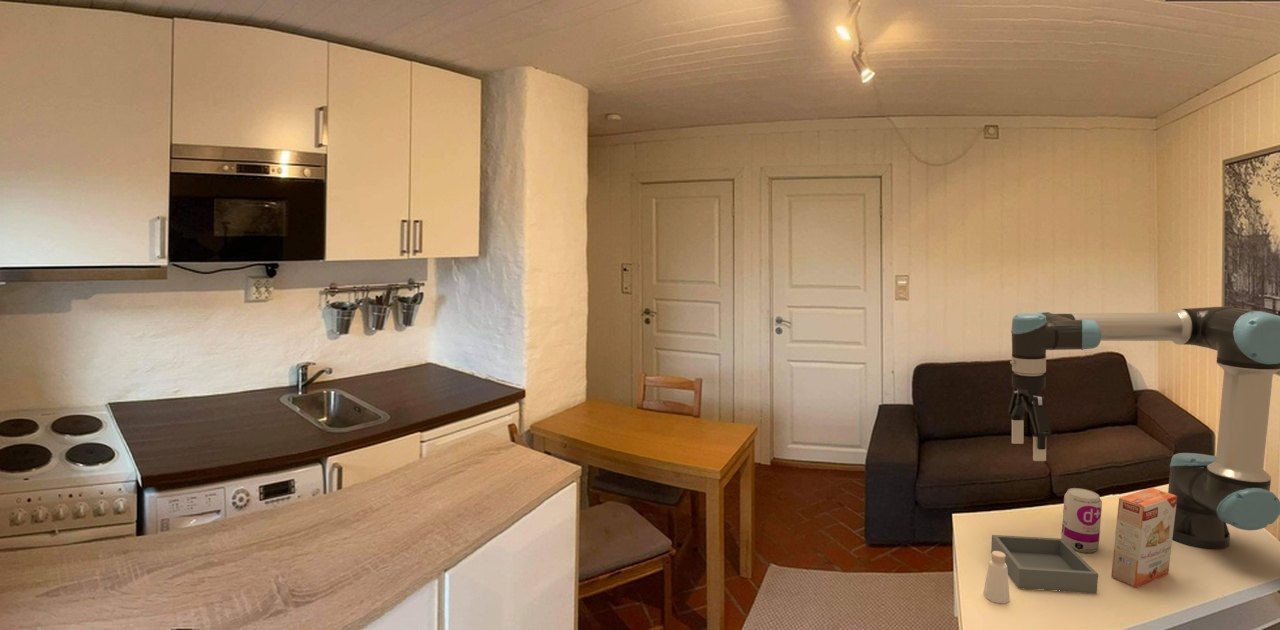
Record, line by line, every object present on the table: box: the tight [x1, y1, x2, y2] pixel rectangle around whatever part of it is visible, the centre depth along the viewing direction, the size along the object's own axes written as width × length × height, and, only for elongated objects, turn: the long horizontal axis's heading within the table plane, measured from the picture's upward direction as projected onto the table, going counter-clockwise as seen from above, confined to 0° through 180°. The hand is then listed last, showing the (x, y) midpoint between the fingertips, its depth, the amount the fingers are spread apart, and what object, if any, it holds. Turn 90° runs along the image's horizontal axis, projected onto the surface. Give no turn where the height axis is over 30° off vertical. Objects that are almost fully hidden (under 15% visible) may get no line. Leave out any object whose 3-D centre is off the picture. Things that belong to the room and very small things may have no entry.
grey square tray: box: [990, 534, 1099, 595], centre depth 155 cm, size 17×17×5 cm
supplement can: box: [1060, 487, 1103, 554], centre depth 166 cm, size 8×8×15 cm
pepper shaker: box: [983, 551, 1011, 605], centre depth 145 cm, size 5×5×11 cm
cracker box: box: [1111, 487, 1177, 588], centre depth 151 cm, size 14×6×21 cm, turn 114°
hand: (1028, 451), depth 163 cm, fingers open, 13 cm apart
